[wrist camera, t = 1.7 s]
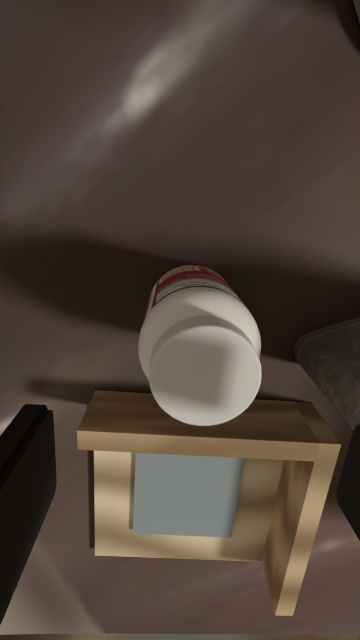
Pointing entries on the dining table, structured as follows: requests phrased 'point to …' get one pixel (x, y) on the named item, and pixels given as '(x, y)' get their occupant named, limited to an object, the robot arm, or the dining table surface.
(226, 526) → the slate pad
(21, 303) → the dining table surface
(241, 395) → the pill bottle
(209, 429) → the wooden corner stand
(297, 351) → the flask
